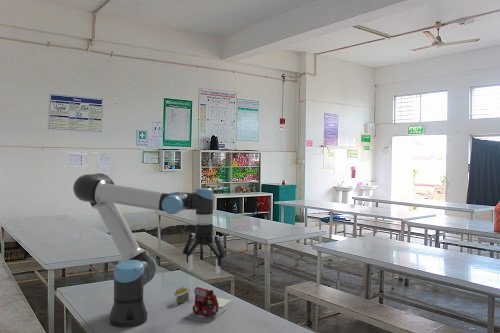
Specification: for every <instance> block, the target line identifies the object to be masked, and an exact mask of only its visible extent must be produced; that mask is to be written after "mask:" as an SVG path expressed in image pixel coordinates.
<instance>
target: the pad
mask: <svg viewBox="0 0 500 333" xmlns="http://www.w3.org/2000/svg"><path fill="white" fill-rule="evenodd" d="M216 298H217V301H218V304H219V306H218V308H221V309H224V307H226V306H227V305H228V304H230V303H232V302H233V300H232V299H227V298H221V297H216Z"/></svg>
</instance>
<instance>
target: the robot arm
mask: <svg viewBox="0 0 500 333" xmlns="http://www.w3.org/2000/svg"><path fill="white" fill-rule="evenodd" d="M72 186H73V187H72V188H73V193H74V196H75V197H76V198H77V199H78V200H80V201H81V202H84V203H85V202H87V203H89V204H90V206H91V207H92V209H94V210H97V211H98V213H99V215H100V218H101V219H102V221H103V223H104V225H105V228H106V230H107V232H108V233H109V235H110V238H111V239H112V241H113V243H114V245H115V246H116V248H117V250H118V253H119V254H120V257H121V261H120V262H118V263H117V264H116V265H115V267H114V271H113V304H112V307H111V310H110V314H109V316H108V323H109V324H110V325H111V326H113V327H118V328H130V327H136V326H139V325H142V324H143V323H145V322H147V320H148V311H147V309H146V305H145V301H144V287H145V286H146V285H147V284H148V283H149V282H151V281H152V279H154V277H155V276H156V273H157V267H158V266H157V263H156V261H155V259H154V258H153V257H152V256H150V255H148V253H147V251H146V250H145V249H144V248H141V247H140V246H139V243H138V241H137V239H136V238H135V236H134V233H133V231H132V229H131V228H130V225H129V224H128V222H127V219H126V218H125V216H124V214H123V212H122V210H121V208H120V206H119V205H125V206H130V207H135V208H142V209H149V210H153V211H159V212H164V213H166V214H167V215H176V214H178V213H180V212H182V211H186V210H189V211H190V210H191V211H195V223H196V224H195V232H193V233H189V235H188V240H187V242H186V243H185V246H184V248H183V250H182V254H184V255H186V263H187V270H188V272H190V271H193V270H194V269H193V267H194V265H193V263H194V260H193V259H194V255H193V252H194V251H195V250H196V249H197V247H198V246H199V245H201V246H208V248H210V249H211V251H212V253H213V254H214V255H215V257H216V258H215V275H219V274H221V267H222V265H223V263H222V262H223V259H224V258H226V256H227V254H226V252H225V250H224V247H223V244H222V243H221V239H220V235H219V234H218V235H214V234H213V232H214V224H213V222H214V191H213V189H212V188H210V187H209V188H208V187H199V188H196V189H195V192H182V191H181V192H179V191H175V192H174V191H172V192H169V193H167V192H161V191H154V190H149V189H142V188H141V189H140V188H137V187H132V186H131V187H130V186H124V185H119V184H116V183H115V181H114V179H113V178H112V177H111V176H110V175H108V174H105V173H99V172H98V173H93V174H92V173H90V174H89V173H87V174H83V175H81V176H79V177H78V178H76V180H75V181H74V183H73V185H72ZM194 239H195V241H194ZM193 241H194V243H193Z"/></svg>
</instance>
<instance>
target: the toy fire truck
mask: <svg viewBox="0 0 500 333" xmlns="http://www.w3.org/2000/svg"><path fill="white" fill-rule="evenodd" d="M193 292H194V304H193V306H192V312H194V313H195V314H199V313H200V312H201V310H202V314H203V316H205V317H207V316H209V315H210V314H211V312H212V313H217V312H218V308H219V307H218V306H219V304H218V301H217V298H218V297H217V295H216V294H215V293H214V290H213V289H210V290H209V289H208V288H204V287H203V288H202V287H199V286H196V287H195V288H194V291H193Z"/></svg>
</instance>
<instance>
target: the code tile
mask: <svg viewBox="0 0 500 333" xmlns="http://www.w3.org/2000/svg"><path fill="white" fill-rule="evenodd" d="M226 311H227V309H225V308H220V307H218V312H217V313H212V312H211V314H210V315H209V316H207V317H205V316H203V314H202V310H201V312H200V313H199V314H195V313H194V312H193V311H192V312H190V313H188V314H186V316H184V317H183V319H187V320H192V321H197V322H202V323H207V324H209V323H211V322H212V321H213V320H214V319H215V320H216V318H218V317H219V316H220V315H222V314H223V313H224V312H226Z"/></svg>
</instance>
